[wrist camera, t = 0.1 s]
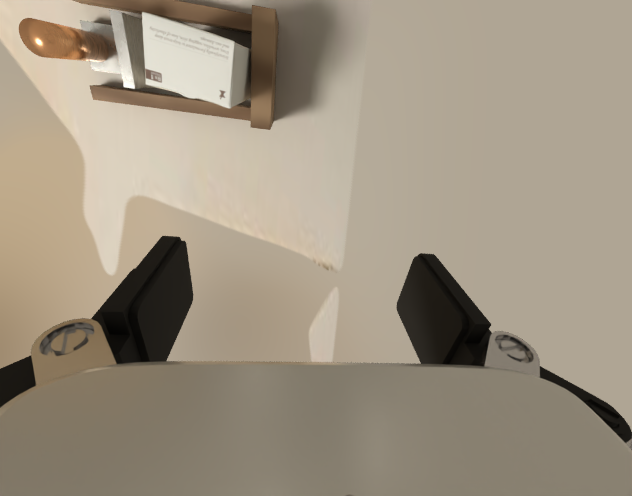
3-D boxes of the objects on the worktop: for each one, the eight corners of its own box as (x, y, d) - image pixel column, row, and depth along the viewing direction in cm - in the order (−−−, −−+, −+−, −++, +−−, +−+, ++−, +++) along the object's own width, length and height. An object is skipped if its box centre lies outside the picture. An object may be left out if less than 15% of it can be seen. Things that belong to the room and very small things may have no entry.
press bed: (77, -15, 32) (20, -39, 26) (278, 22, 36) (275, 9, 29) (103, 98, 38) (63, 102, 32) (273, 121, 42) (270, 129, 35)
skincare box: (258, 51, 37) (241, 38, 24) (252, 100, 40) (234, 111, 27) (193, 30, 35) (138, 4, 23) (191, 83, 38) (142, 86, 26)
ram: (83, 11, 34) (3, -14, 24) (150, 23, 35) (98, 3, 25) (99, 78, 37) (34, 78, 28) (159, 87, 38) (116, 89, 29)
